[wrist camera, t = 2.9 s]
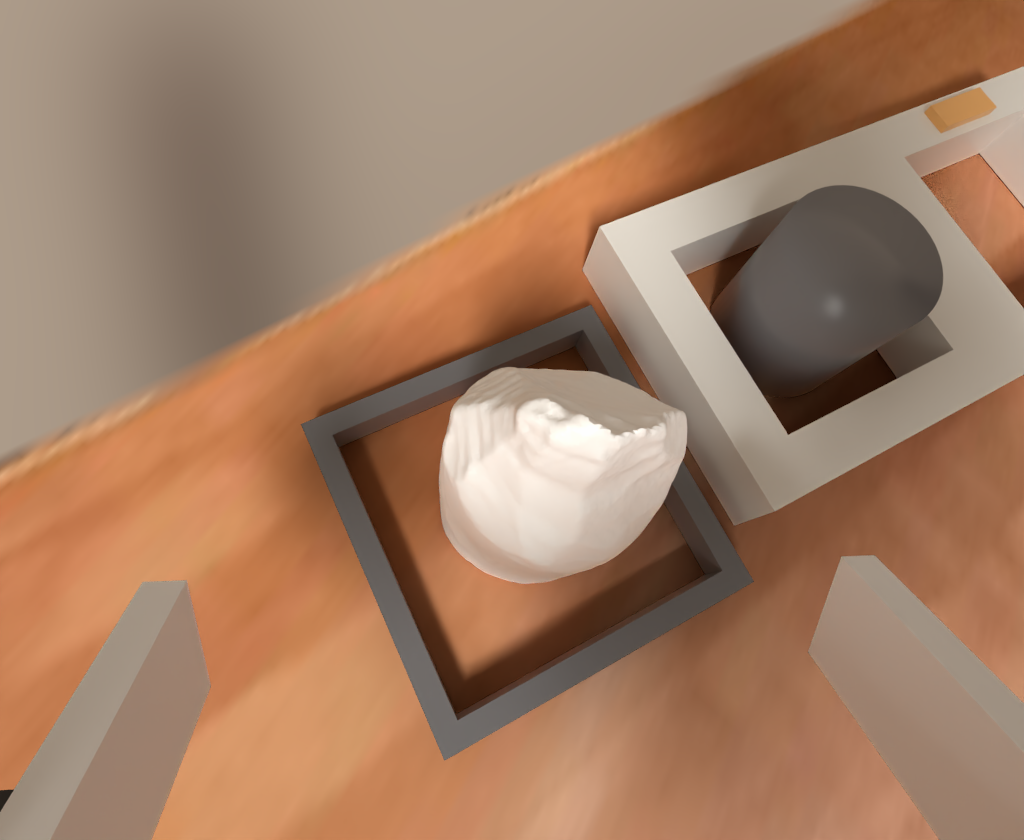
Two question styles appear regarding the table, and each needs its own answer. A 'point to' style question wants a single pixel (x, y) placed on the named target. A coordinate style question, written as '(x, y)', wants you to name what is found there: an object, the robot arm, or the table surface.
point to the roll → (554, 470)
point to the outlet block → (822, 296)
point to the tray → (446, 725)
